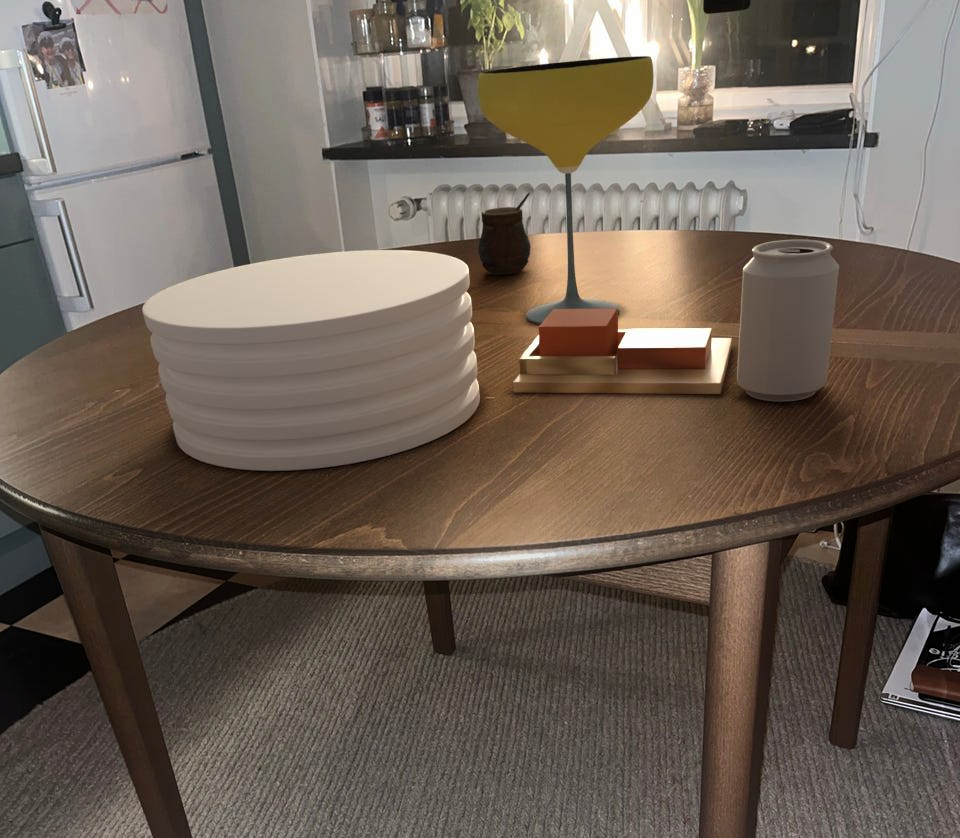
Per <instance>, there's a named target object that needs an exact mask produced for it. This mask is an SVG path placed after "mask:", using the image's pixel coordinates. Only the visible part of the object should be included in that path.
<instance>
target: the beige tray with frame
mask: <svg viewBox="0 0 960 838" xmlns="http://www.w3.org/2000/svg"><path fill="white" fill-rule="evenodd" d="M712 335H713V328H712V327H705V328H704V327H702V328H700V327H698V328H697V327H696V328H693V327H691V328H628V329H618V348H617V352H616V354H615V356H540V347H539V334H538V335H537V336H536V337H535V338H534V340H533V341H532V342H531V343H530V344H529V345H528V347H527V348H526V350H524V352H523V354H521V355H520V357H519V358H518V369H519V371H518V372H519V374H518V375H517V376H516V378H515V379H514V380H513V382H512V387H513V389H512V390H513V393H525V394H526V393H527V394H528V393H533V394H535V393H536V394H537V393H541V394H544V393H545V394H546V393H547V394H652V395H653V394H659V395H661V394H662V395H663V394H665V395H666V394H668V395H669V394H673V395H676V394H677V395H721V394H722V391H723V390H722V389H723V385H724V382H725V377H726V372H727V368H728V366H729V365H728V364H729V360H730V355H731V352H732V348H733V347H732V346H733V337H713V336H712Z"/></svg>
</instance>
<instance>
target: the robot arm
mask: <svg viewBox="0 0 960 838" xmlns="http://www.w3.org/2000/svg"><path fill="white" fill-rule="evenodd" d="M751 2H752V1H751V0H703V8H702V10H703V13H704V14H706V15H712V14H721V13H722V14H724V13H730V12H731V13H733V12H740V11H746V10H748V9H750V6H751Z"/></svg>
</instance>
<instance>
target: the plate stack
mask: <svg viewBox="0 0 960 838" xmlns="http://www.w3.org/2000/svg"><path fill="white" fill-rule="evenodd" d="M469 270H470V269H469V266H468V264H467V263H465V261H463V260H461V259H459V258H457V257H453V256H452V255H448V254H444V253H438V252H431V251H422V250H408V249H369V250H349V251H334V252H324V253H315V254H305V255H298V256H297V255H296V256H289V257H284V258H277V259H276V258H275V259H270V260H266V261H265V260H264V261H259V262H253V263H249V264H248V263H247V264H243V265H239V266H234V267H230V268H226V269H221V270H217V271H214V272H210V273H207V274H202V275H200V276H199V275H198V276H195V277H193V278H190V279H187V280H184V281H180V282H179V283H176V284H173V285H171V286H169V287H166V288H164V289H162V290H161V291H159V292H157V293H155V294H153V295H152V296H150V297H149V298H148V299H147V300H146V301H145V302H144V303H143V305H142V308H141V311H142V315H143V319H144V322H145V326H146V328H147V329H148V330H149V332H151V333H152V334H151V335H150V339H149V341H150V346H151V350H152V353H153V357H154V358H155V360H156V362H158V363H159V364H158V366H157V367H158V368H157V372H158V376H159V380H160V384H161V387H162V389H163V390H164V391H165V392H166V394H165V402H166V406H167V410H168V413H169V416H170V418H171V420H172V421H173V423H172V429H173V433H174V437H175V440H176V441H175V442H176V444H177V446H178V447H179V449H180V450H182V452H184V454H186V455H188V456H190V457H191V458H193V459H195V460H197V461H200V462H201V463H202V462H203V463H205V464H208V465H212V466H217V467H222V468H227V469H228V468H229V469H234V470H244V471H260V472H261V471H262V472H263V471H264V472H280V471H281V472H282V471H283V472H284V471H285V472H287V471H302V470H303V471H304V470H305V471H306V470H314V469H316V470H317V469H324V468H325V469H326V468H332V467H339V466H345V465H351V464H357V463H362V462H367V461H372V460H376V459H380V458H383V457H387V456H391V455H392V456H393V455H395V454H399V453H402V452H405V451H408V450H411V449H415V448H417V447H420V446H422V445H425V444H428V443H430V442H432V441H434V440H437V439H439V438H442V437H443V436H445V435H447V434H449V433H450V432H451V433H452V431H454V430H455V429H457V428H459V427H460V426H462V425H464V423H466V422H467V421H468V420H470V418H471V417H472V416H473V415H474V414H475V412H476V411H477V409H478V408H479V405H480V400H481V396H480V395H481V394H480V386H479V385H480V384H479V381H478V379H477V376H478V361H477V354H476V352H475V351H474V349H475V344H476V338H475V329H474V328H475V327H474V325H473V324H472V322H471V320H472V318H473V303H472V298H471V294H469V293H468V292H467V291H468V290H469V287H470V284H471V283H470V271H469Z"/></svg>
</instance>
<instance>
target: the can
mask: <svg viewBox="0 0 960 838" xmlns="http://www.w3.org/2000/svg"><path fill="white" fill-rule="evenodd" d="M833 249H834V246H833V245H831V243H829V242H826V241H822V240H816V239H783V240H782V239H781V240H780V239H779V240H773V241H768V242H764V243H760V244H757V245H755V246H754V247H753V248H752V249H751V252H752V254H753V256H752V258H750V260H749V261H748V262H747V263H746V264H745V265H744V266H743V268H742V280H741V281H742V282H741V298H740V299H741V300H740V316H739V317H740V318H739V332H738V333H739V334H738V335H739V336H738V352H737V353H738V354H737V369H736V370H737V371H736V372H737V373H736V382H737V385H738V386H739V387H740V388H741V389H743V390H744V391H745V392H746V395H748V396H749V397H751V398H754V399H757V400H760V401H767V402H776V403H777V402H779V403H781V402H794V401H802V400H804V399H808V398H810V397H813V396H814V395H815V394H816V393H817V392H818V391H819V390H820V389H822V388H823V387H824V386H826V384H827V382H828V376H829V368H830V367H829V365H830V358H831V357H830V356H831V347H832V337H833V329H834V319H835V310H836V301H837V292H838V291H837V290H838V280H839V271H840V265H839V264H838V262H837V261H836V260H835V259H834V257H833V256H832V255H831V251H832V250H833Z"/></svg>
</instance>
